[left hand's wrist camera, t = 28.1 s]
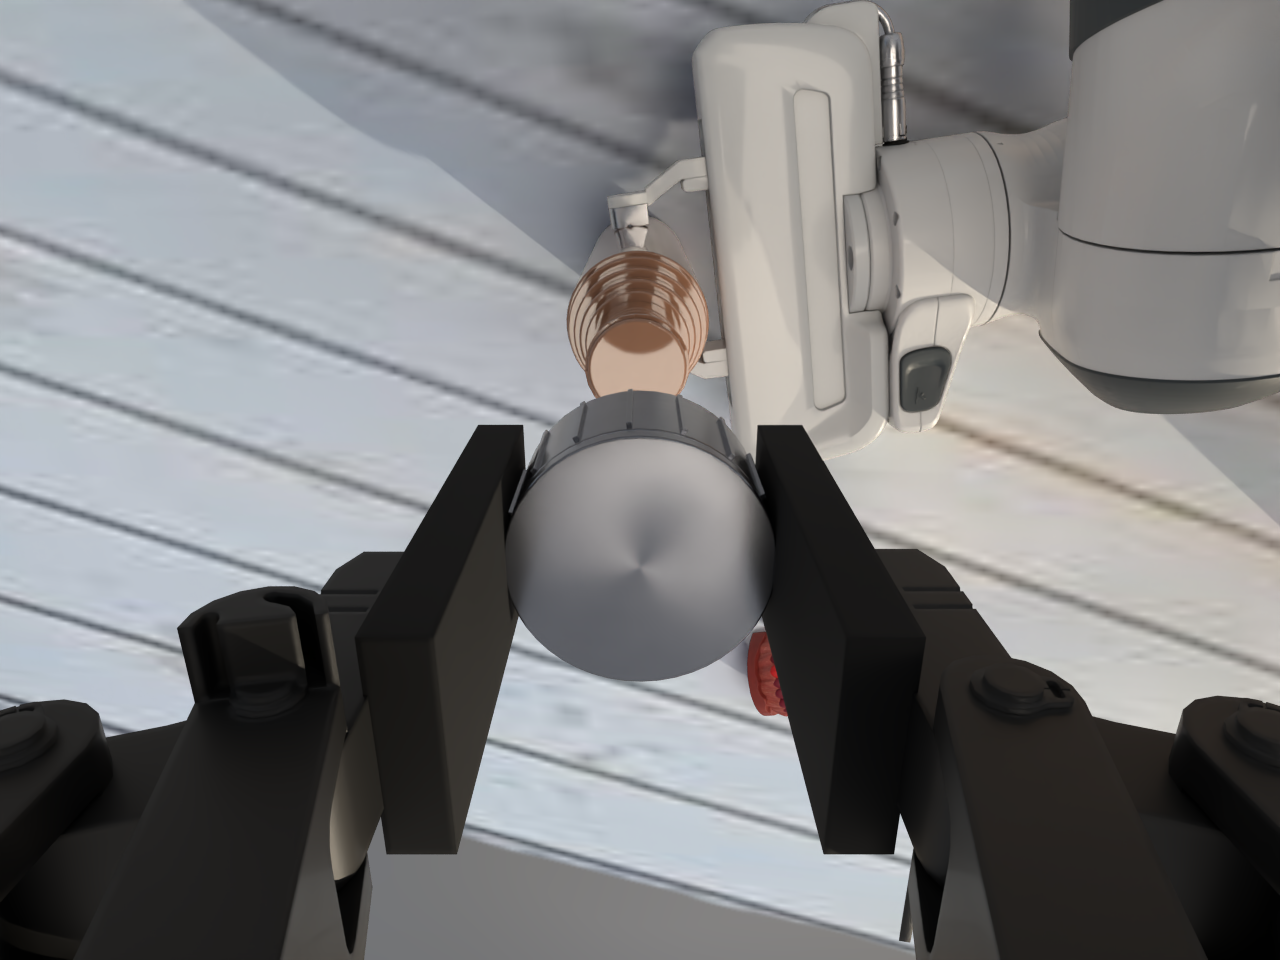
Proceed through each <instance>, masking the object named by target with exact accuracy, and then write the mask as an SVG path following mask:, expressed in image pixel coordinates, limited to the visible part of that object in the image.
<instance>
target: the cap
mask: <svg viewBox="0 0 1280 960" xmlns="http://www.w3.org/2000/svg"><path fill="white" fill-rule="evenodd" d="M765 498H767V496H766V493H765V490H764V488H763V485H762V482H761V479H760V477H759V474H758V471H757V468H756V466H755V463H754V460H753V458H752V455H751V453H748V454H747V453H746V451H745V449H744V447H743V446H742V444H741V443H740V441H739V440H738V438H737V437H736V435H735V434H734V433H733V432H732V431H731V430H730V429H729V428H728V426H727V425H726V424H725V420H724V419H723V418H722V417H720V418H718V417H716V416H715V415H714V414H713V413H711V412H710V411H708V410H706V409H705V408H703V407H702V406H700V405H698V404H696V403H694V402H691V401H689V400H687V399H684V398H683V397H682V395H679V394H677V396H675V395H672V394H667V393H662V392H656V391H639V390H638V391H633V389H628V391H625V392H619V393H614V394H609V395H605V396H602V397H599V398H596V399H594V400H591V401H589V402H587V403H585V401H584V402H582V403H580V406H579V407H577V408H576V409H574V410H573V411H571V412H570V413H568V414H567V415H565V416H564V417H563V418H562V419H561V420H559V421H558V422H557V423H556V424H555V425H554V426H553V427H552V428H551V429H550V430H549V431H547V430H545V432H544V433H543V435H542V438H541V441H540V444H539V445H538V447H537V448H536V450H535V452H534V454H533V456H532V459H531V461H530V463H529V466H528V469H527V470H525V469H523V472H522V475H521V477H520V480H519V483H518V486H517V488H516V491H515V494H514V497H513V499H512V502H511V505H510V508H509V510H508V517H510V520H509V523H508V527H507V530H506V534H505V559H506V574H507V588H508V593H509V596H510V599H511V601H512V603H513V606H514V608H515V610H516V612H517V614H518V615H519V617H520V618H521V620H522V621H523V623H524V625H525V626H526V627H527V629H528V630H529V631H530V632H531V633H532V634H533V636H534V637H535V638H536V639H537V640H538V641H539V642H540V643H541V644H542V645H543V646H545V647H546V648H547V649H548V650H549V651H550V652H552V653H553V654H555V655H556V656H558V657H559V658H560V659H562V660H564V661H565V662H567V663H569V664H571V665H573V666H575V667H577V668H579V669H582V670H584V671H587V672H589V673H592V674H595V675H599V676H602V677H606V678H611V679H617V680H624V681H657V680H664V679H669V678H675V677H679V676H682V675H685V674H689V673H692V672H694V671H697V670H699V669H701V668H704V667H706V666H708V665H710V664H712V663H713V662H715V661H717V660H719V659H720V658H722V657H723V656H725V655H726V654H727V653H729V652H730V651H731V650H733V649H734V648H735V647H736V646H737V645H738V644H739V643H740V642H741V641H743V640H744V639H745V638H746V637H747V635H748V634H749V633H750V632H751V630H752V629H753V628H754V627H755V626H756V624H757V623H758V621H759V619H760V618H761V616H762V615H763V613H764V611H765V609H766V607H767V605H768V603H769V600H770V598H771V596H772V592H773V582H774V567H775V552H776V535H775V531H774V527H773V524H772V521H771V518H770V515H769V512H768V510H767V507H766V504H765V501H764V499H765Z"/></svg>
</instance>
